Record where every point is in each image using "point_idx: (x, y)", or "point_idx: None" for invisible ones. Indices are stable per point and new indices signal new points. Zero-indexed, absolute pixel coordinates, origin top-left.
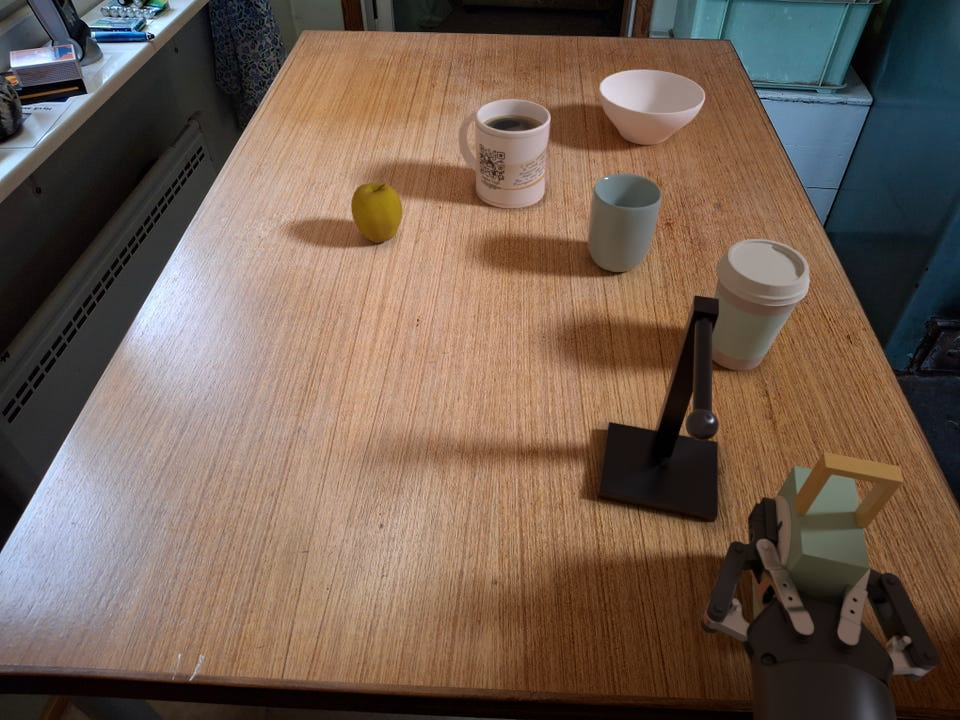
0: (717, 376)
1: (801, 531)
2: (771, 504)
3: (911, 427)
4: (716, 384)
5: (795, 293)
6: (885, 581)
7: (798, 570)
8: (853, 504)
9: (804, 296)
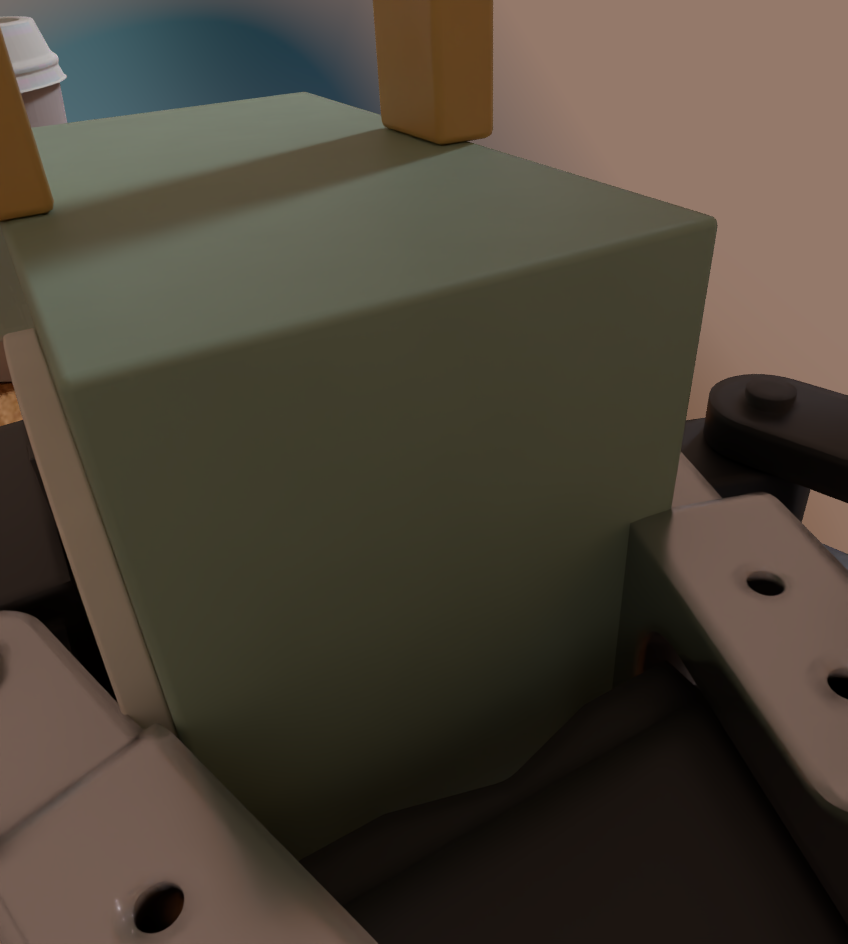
0: (3, 403)
1: (36, 276)
2: (10, 440)
3: None
4: (2, 417)
5: (17, 61)
6: (751, 416)
7: (234, 656)
8: (359, 122)
9: (57, 81)
